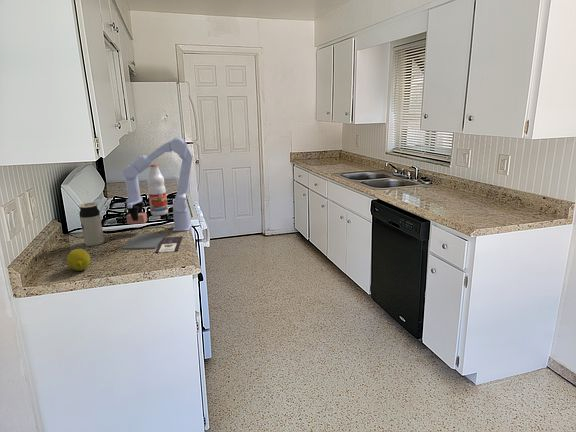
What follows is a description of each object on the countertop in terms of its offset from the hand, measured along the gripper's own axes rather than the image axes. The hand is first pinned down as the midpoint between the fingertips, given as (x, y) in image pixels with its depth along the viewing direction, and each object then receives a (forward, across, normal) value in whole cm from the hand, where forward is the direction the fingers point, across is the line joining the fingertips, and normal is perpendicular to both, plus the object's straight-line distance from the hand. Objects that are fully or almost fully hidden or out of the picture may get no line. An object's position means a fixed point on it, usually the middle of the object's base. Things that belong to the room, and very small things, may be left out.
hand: (137, 218), depth 189 cm
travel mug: (+7, +14, -15) cm, 22 cm away
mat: (+7, +14, +8) cm, 17 cm away
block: (+2, 0, 0) cm, 2 cm away
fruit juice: (+7, -33, 0) cm, 34 cm away
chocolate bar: (+8, +19, +20) cm, 28 cm away
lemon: (+7, +43, -7) cm, 44 cm away
